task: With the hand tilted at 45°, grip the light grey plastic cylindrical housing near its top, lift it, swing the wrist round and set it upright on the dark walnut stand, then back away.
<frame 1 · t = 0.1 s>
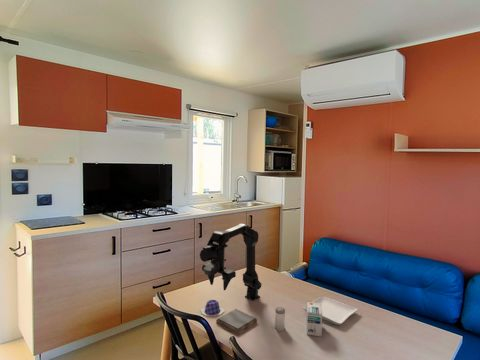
hand: (218, 287, 155), 15 cm above the table, tool pointing down, fingers open, 9 cm apart
pudding: (212, 312, 160), on the table
walnut stand: (236, 323, 149), on the table
salad plate: (330, 314, 161), on the table
light bulb box: (313, 330, 145), on the table
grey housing: (279, 327, 146), on the table
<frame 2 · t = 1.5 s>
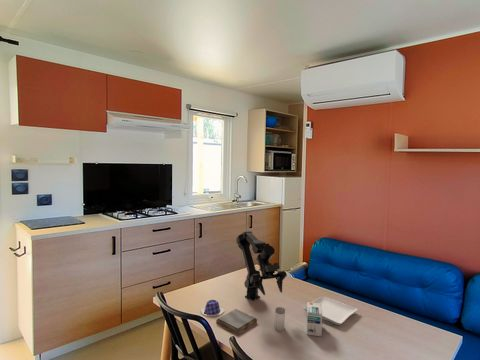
hand: (273, 293, 152), 13 cm above the table, tool tilted 45°, fingers open, 9 cm apart
nothing on the table moved.
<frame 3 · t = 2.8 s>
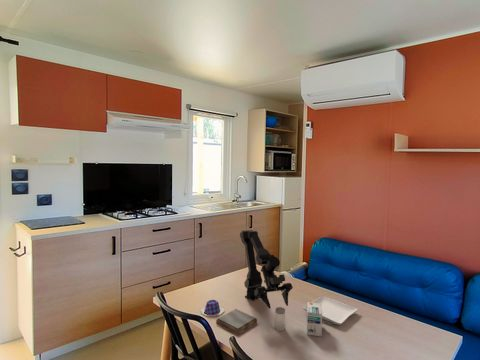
hand: (278, 307, 147), 9 cm above the table, tool tilted 45°, fingers open, 9 cm apart
nothing on the table moved.
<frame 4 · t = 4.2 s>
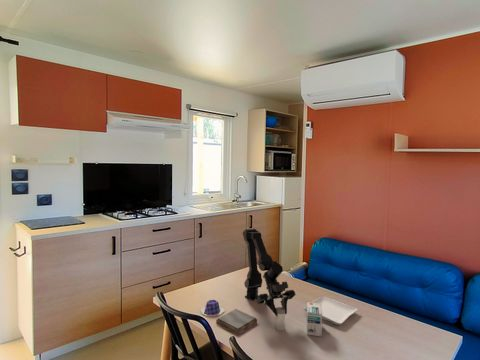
hand: (281, 314, 144), 7 cm above the table, tool tilted 45°, fingers closed on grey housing, 4 cm apart
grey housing: (279, 327, 146), on the table, touching gripper
everything else where it was.
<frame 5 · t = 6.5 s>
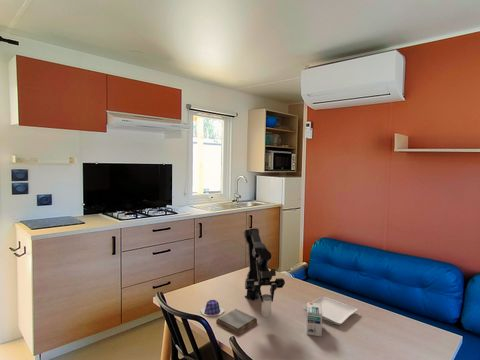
hand: (267, 301, 143), 13 cm above the table, tool tilted 45°, fingers closed on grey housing, 4 cm apart
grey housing: (266, 314, 145), point 6 cm above the table, touching gripper
everything else where it was.
when the fingers open (10 cm above the table, at t = 8.8 s): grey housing stays where it is, resting on walnut stand.
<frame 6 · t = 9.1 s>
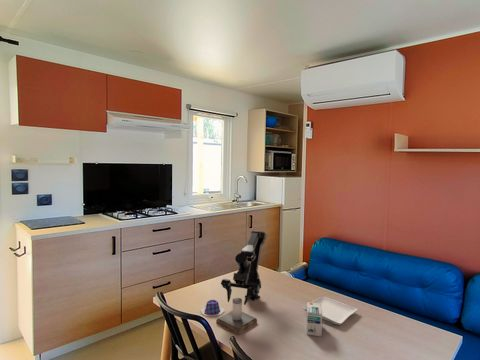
hand: (236, 303, 147), 11 cm above the table, tool tilted 45°, fingers open, 8 cm apart
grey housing: (236, 318, 149), point 3 cm above the table, touching walnut stand
everything else where it was.
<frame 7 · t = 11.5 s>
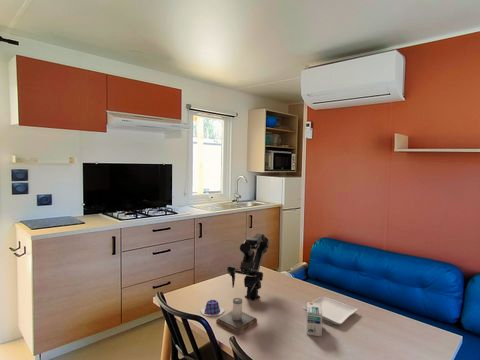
hand: (241, 289, 156), 13 cm above the table, tool tilted 40°, fingers open, 9 cm apart
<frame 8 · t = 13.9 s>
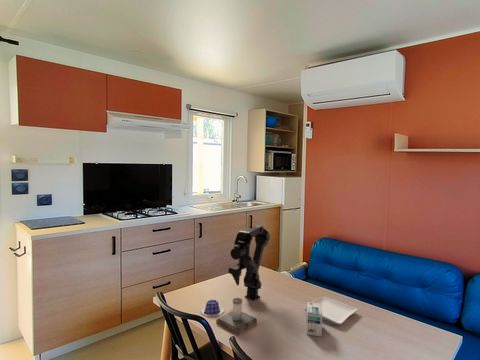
hand: (243, 282, 165), 13 cm above the table, tool pointing down, fingers open, 9 cm apart
at the end: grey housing inside the target area on the walnut stand (0.0 cm from its centre), point 2.6 cm above the walnut stand's base; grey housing tilted 1°; the gripper is holding nothing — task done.
